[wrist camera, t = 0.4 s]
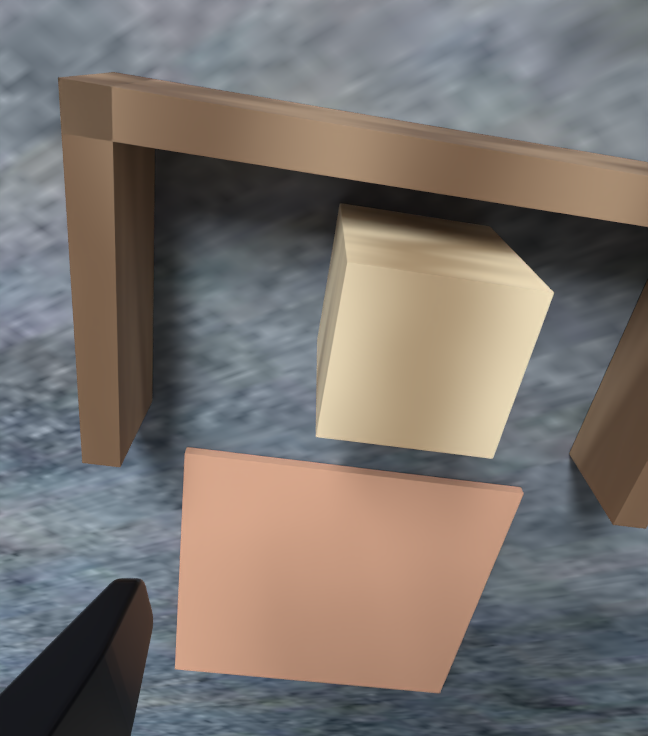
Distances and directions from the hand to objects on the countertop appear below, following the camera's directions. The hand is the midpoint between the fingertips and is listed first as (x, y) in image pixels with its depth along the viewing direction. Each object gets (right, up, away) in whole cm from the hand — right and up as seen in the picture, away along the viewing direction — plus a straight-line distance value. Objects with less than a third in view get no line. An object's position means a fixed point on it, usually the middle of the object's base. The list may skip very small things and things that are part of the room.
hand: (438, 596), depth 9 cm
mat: (-1, -7, +18) cm, 20 cm away
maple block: (+1, +6, +11) cm, 13 cm away
